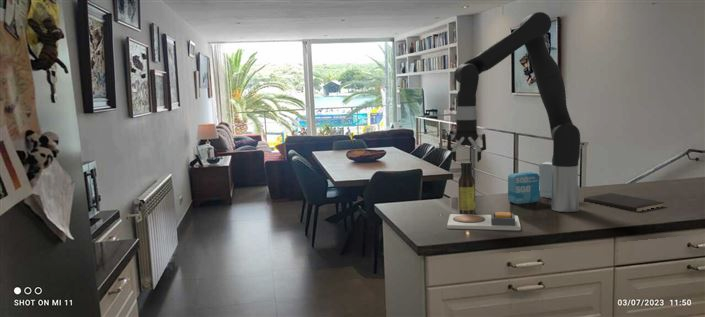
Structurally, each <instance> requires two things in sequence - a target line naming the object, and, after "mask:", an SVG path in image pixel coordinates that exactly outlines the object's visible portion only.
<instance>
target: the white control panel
mask: <svg viewBox="0 0 705 317" xmlns="http://www.w3.org/2000/svg"><path fill="white" fill-rule="evenodd" d="M510 214H511V218H495V212H491V213H490V214H473V215H466V214H460V213H454V214H453V213H450V214H449V216H448V221H447V224H446V229H450V230H451V229H455V230H456V229H457V230H490V231H495V230H496V231H521V230H522V228H521V223H520V219H519V216H518V215H515V214H514V213H511V212H510Z"/></svg>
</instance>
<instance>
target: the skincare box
mask: <svg viewBox="0 0 705 317" xmlns="http://www.w3.org/2000/svg"><path fill="white" fill-rule="evenodd" d="M538 175H539V198H546V199H552V161H550V162H549V161H545V162H541V163H538Z"/></svg>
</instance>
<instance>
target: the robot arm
mask: <svg viewBox="0 0 705 317" xmlns="http://www.w3.org/2000/svg"><path fill="white" fill-rule="evenodd" d="M551 26H552V19H551V17H550V16H549V15H548V13H545V12H542V11H537V12H533V13H531V14H529V15H528V16H526V17H524V18H523V19H522V20H521V22H520V23H519V27H518V28H516V29H514V31H512V32H510V34H508V35H506V36H504V37H502V38H501V39H499V40H498V41H496V42H494V43H492V44H491V45H489V46H487V48H485V49H484V50H482V51H481V52H479V53H478V54H477V55H475V56H474V57H471V59H468V60H467V61H465V62H463V63H462V64H459V65H458V66H457V68H455V70H454V79H455V80H456V82H457V83H459V91H457V94H456V114H455V119H456V120H455V124H456V126H455V134H451V133H448V134H447V143H446V144H447V146H446V147H447V148H446V150H447V151H450V152H451V158H452V161H453V162H454V163H456V162H457V151H456V150H457V149H458V148H459V147H460V145H461V146H463V147H465V146H468V147H471V146H473V147H474V148H475V149H476V151H477V154H476V155H477V156H476V157H477V158H476V161H477V163H478V162H480V161H481V160H482V152H483V151H485V150H487V140H486V139H487V138H486V133H482V134H481V133H480V134H478V112H477V90H478V87H479V86H478V85H479V77H480V76H479V75H480V74H481V73H484V72H486V71H489V70H491V69H492V68H494V67H495V66H496V65H498V64H499V63H501V62H503V60H505V59H506V58H508V57H509V56H510V55H513V53H515V52H516V51H518V50H519V49H520V48H522V47H523V46H525V49H526V51H527V54H528V57H529V60H530V65H531V68H532V72H533V75H534V79H535V83H536V86H537V89H538V92H539V95H540V99H541V101H542V103H543V106H544V108H545V110H546V114H547V117H548V123H549V129H550V135H551V139H552V141H553V145H552V146H553V148H552V149H553V152H552V153H553V154H552V157H551V162H552V198H551V211H552V210H553V211H555V212H560V213H561V212H563V213H572V212H579V211H580V209H579V208H580V186H579V161H580V154H581V152H580V151H581V132H580V130H579V128H578V127H577V126H576V125H575V124H574V123H573V120H572V119H571V116H570V114H569V110H568V107H567V96H566V95H567V94H566V86H565V83H564V78H563V75H562V72H561V69H560V67H559V65H558V64H557V62H556V61H555V59H554V58H553V56H552V55H551V54H550V52H549V50H548V48H547V44H546V41H545V36H546V35H547V34H548V33H549V32H550V30H551V28H552V27H551ZM454 138H455V140H456V141H457V142H456V143H455V145H454V146H452V141H453V140H454ZM478 138H479V139H480V141H481V142H482V146H481V147H480V145H479V144H478V143H477V139H478Z"/></svg>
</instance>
